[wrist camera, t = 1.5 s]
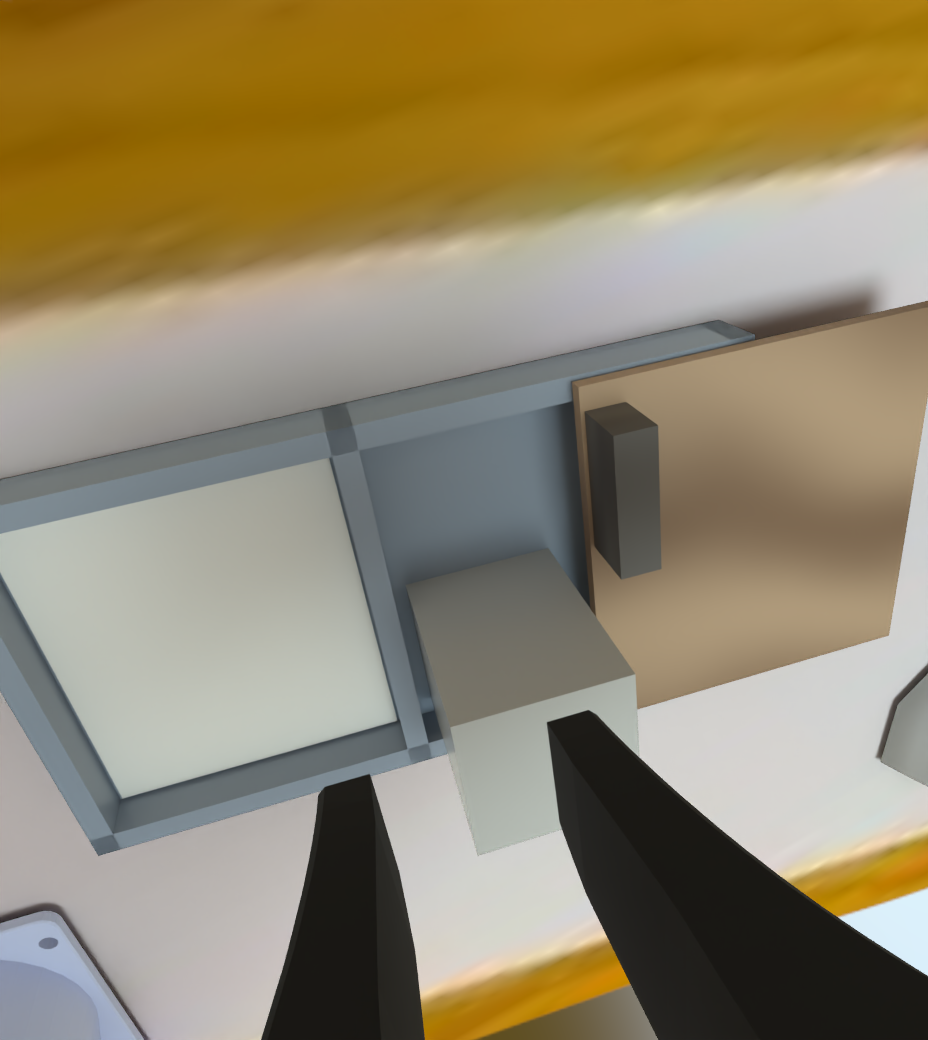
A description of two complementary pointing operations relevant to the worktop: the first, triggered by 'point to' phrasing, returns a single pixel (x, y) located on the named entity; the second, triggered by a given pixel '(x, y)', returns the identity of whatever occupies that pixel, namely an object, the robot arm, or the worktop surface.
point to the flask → (910, 735)
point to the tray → (276, 587)
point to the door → (751, 498)
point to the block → (515, 685)
